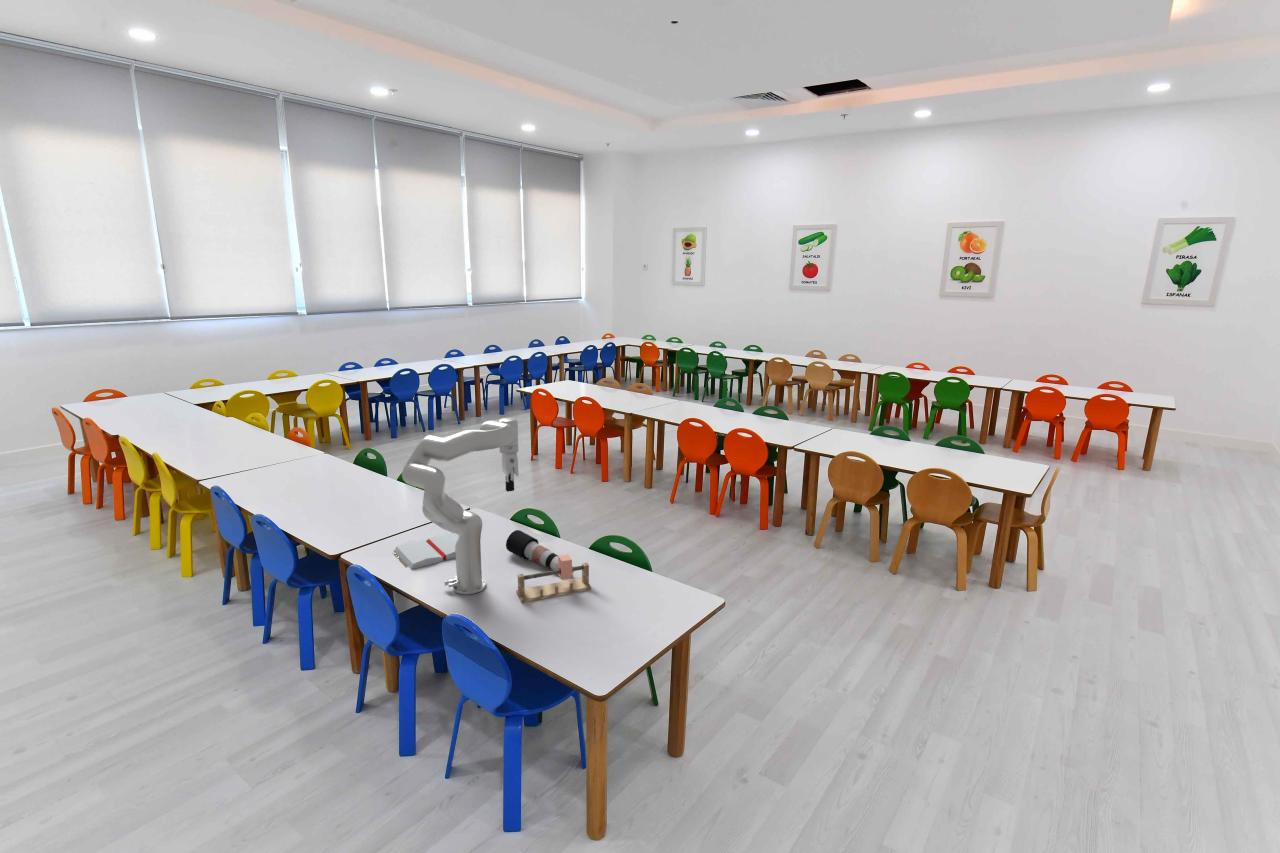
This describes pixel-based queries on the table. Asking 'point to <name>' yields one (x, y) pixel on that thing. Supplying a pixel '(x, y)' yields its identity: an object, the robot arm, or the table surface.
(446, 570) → the table surface
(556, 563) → the black and grey cylinder
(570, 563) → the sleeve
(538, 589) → the wooden test tube rack
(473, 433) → the robot arm
